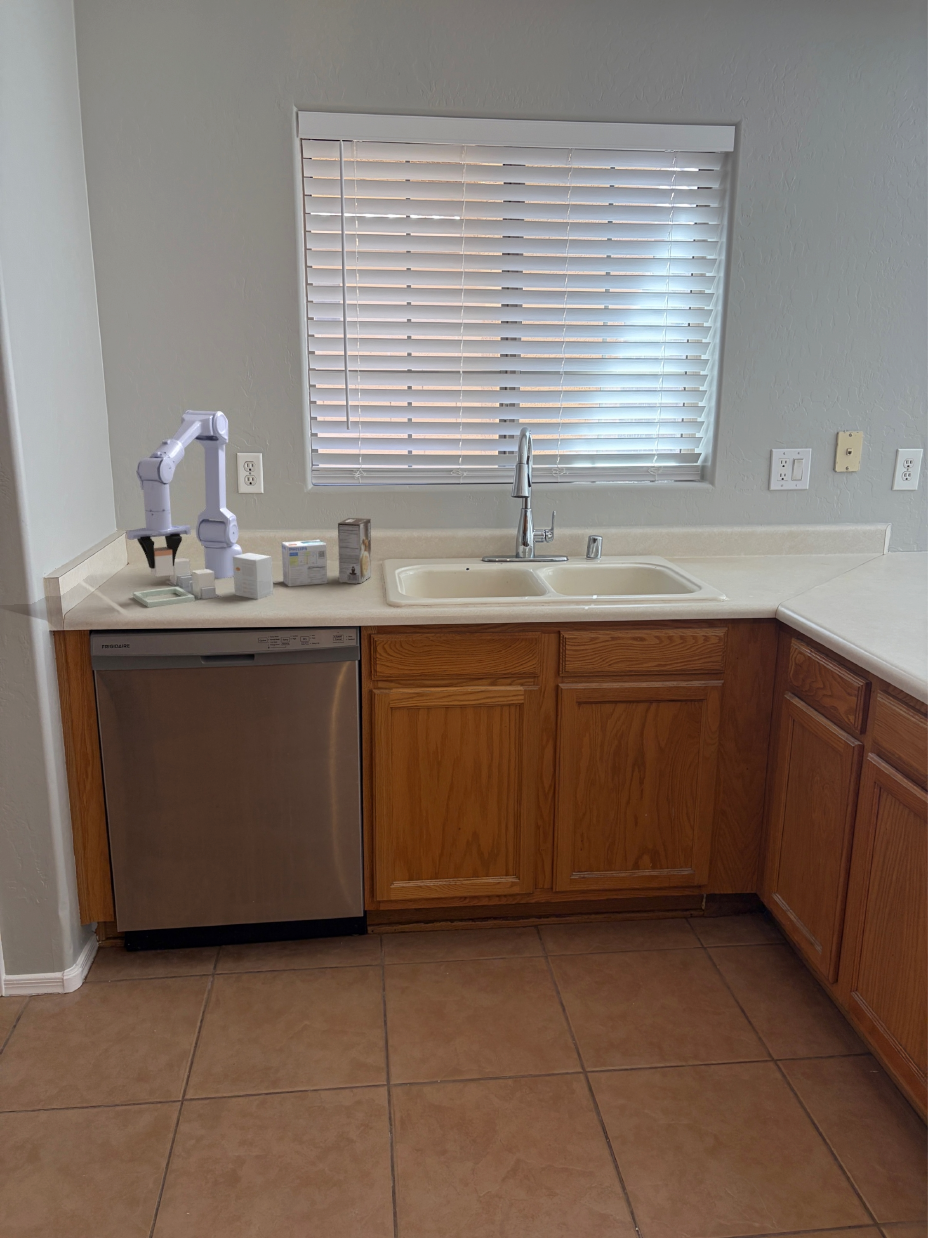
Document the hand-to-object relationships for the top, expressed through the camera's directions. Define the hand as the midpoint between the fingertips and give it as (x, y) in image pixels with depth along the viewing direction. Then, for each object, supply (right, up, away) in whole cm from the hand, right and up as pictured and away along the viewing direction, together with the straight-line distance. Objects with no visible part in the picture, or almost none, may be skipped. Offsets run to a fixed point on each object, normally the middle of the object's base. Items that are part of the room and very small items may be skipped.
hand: (161, 566), depth 219 cm
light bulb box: (+30, -3, +25) cm, 39 cm away
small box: (+20, -7, +9) cm, 23 cm away
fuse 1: (-1, -3, +19) cm, 19 cm away
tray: (0, -8, +2) cm, 9 cm away
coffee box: (+42, -2, +30) cm, 52 cm away
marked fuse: (0, -2, 0) cm, 2 cm away
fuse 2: (+8, -7, +6) cm, 13 cm away
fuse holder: (+4, -6, +13) cm, 14 cm away
